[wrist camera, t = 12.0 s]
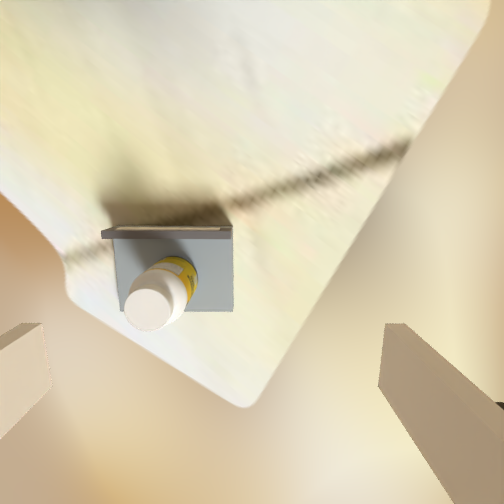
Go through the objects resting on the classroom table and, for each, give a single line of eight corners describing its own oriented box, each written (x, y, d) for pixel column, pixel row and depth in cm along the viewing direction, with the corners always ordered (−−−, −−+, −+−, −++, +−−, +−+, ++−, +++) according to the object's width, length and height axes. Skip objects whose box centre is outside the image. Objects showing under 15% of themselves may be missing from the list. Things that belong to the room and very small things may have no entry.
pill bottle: (182, 307, 41) (156, 352, 30) (143, 281, 41) (101, 317, 29) (208, 272, 40) (192, 304, 29) (169, 244, 40) (136, 267, 28)
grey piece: (118, 224, 41) (100, 229, 36) (232, 225, 41) (230, 230, 36) (126, 305, 43) (110, 320, 39) (233, 305, 44) (231, 320, 39)
